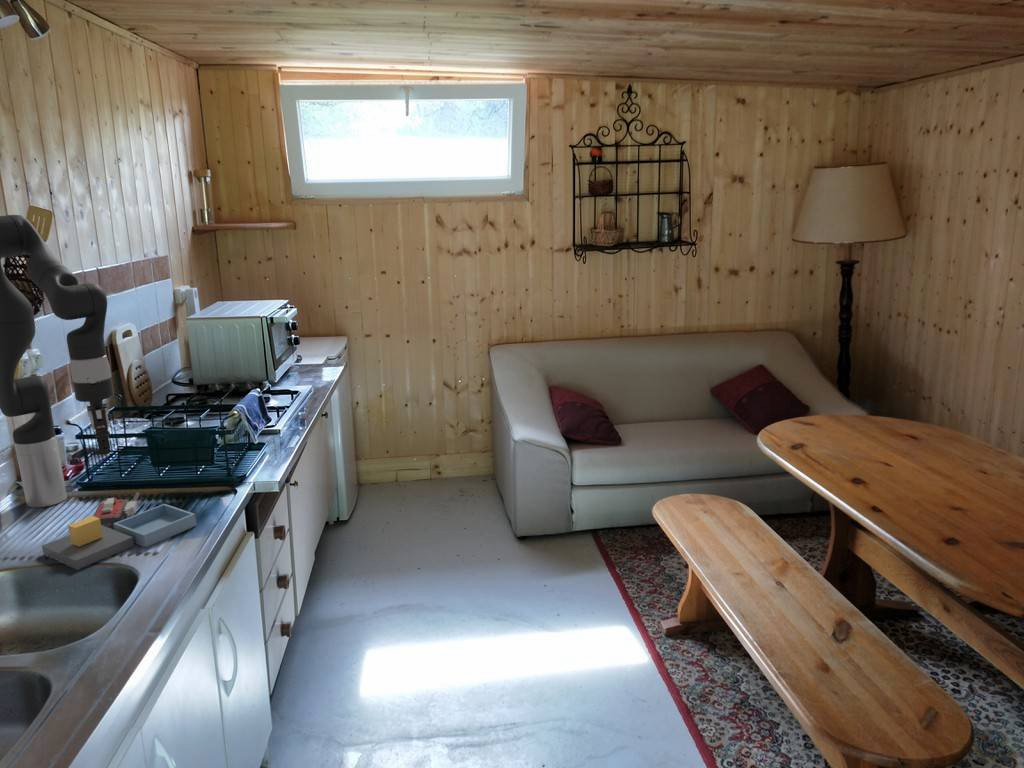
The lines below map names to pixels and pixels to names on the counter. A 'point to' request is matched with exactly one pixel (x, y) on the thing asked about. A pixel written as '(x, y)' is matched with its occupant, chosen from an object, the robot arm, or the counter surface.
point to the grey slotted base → (88, 548)
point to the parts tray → (156, 524)
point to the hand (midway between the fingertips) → (103, 447)
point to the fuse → (85, 531)
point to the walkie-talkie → (115, 510)
